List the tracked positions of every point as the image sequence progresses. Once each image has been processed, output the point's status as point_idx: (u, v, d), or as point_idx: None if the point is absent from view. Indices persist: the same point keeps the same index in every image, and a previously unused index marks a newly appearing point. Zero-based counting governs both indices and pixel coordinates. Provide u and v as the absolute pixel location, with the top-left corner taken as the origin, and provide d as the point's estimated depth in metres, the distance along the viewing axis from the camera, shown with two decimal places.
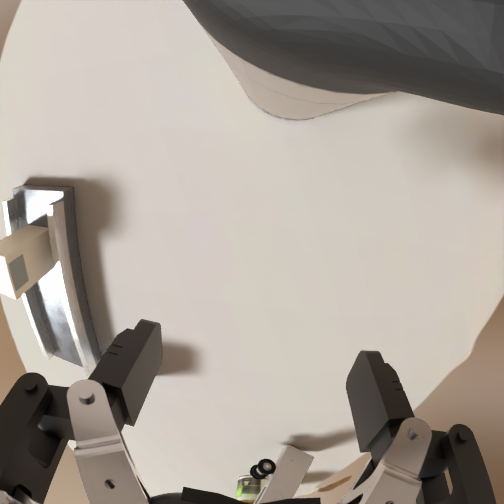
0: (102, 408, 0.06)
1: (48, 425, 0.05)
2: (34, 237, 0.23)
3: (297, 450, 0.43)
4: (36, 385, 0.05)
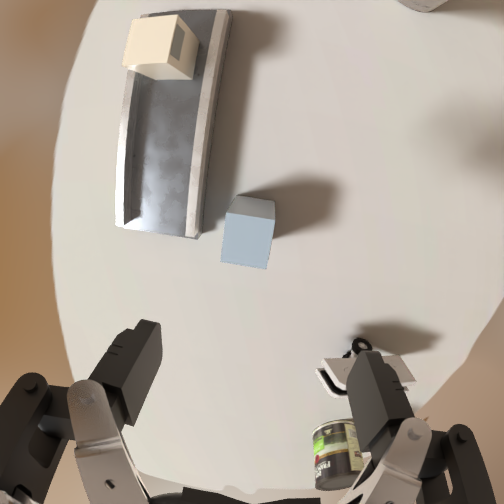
0: (102, 408, 0.06)
1: (48, 425, 0.05)
2: (192, 32, 0.21)
3: (403, 364, 0.36)
4: (36, 385, 0.05)
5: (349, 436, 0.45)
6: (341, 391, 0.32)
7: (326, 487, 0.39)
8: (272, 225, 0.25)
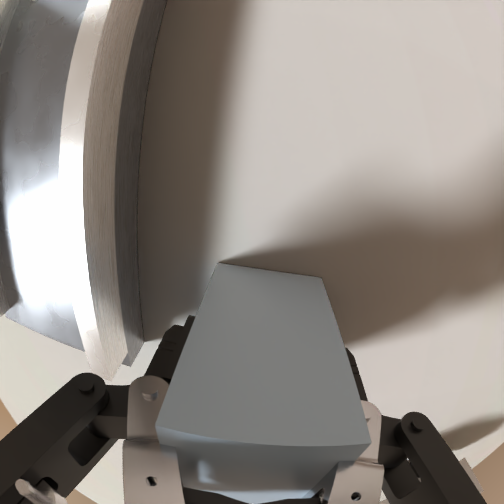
0: None
1: (97, 427, 0.06)
2: None
3: (470, 470, 0.15)
4: (93, 386, 0.06)
5: None
6: None
7: None
8: (355, 454, 0.05)
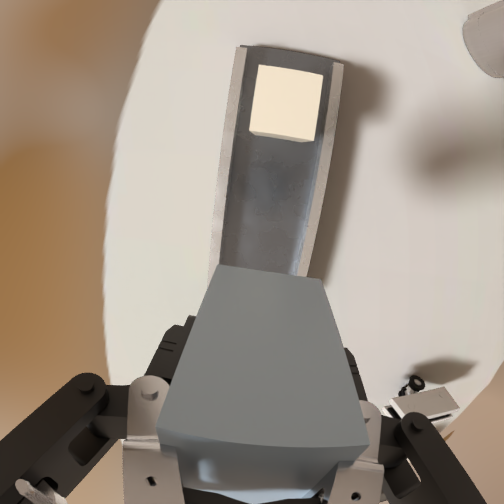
0: None
1: (97, 427, 0.06)
2: None
3: (448, 394, 0.35)
4: (93, 386, 0.06)
5: None
6: None
7: None
8: (353, 455, 0.05)
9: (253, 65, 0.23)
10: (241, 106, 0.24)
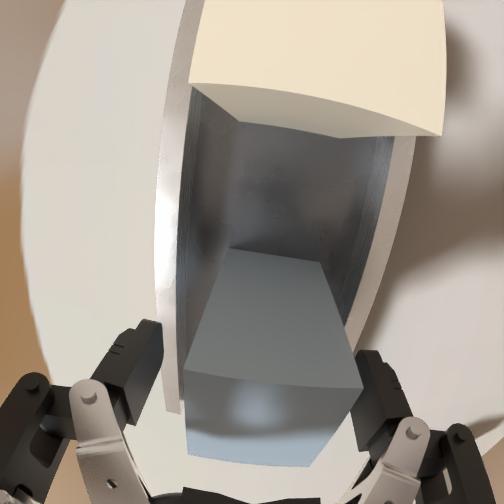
0: (104, 408, 0.06)
1: (50, 425, 0.05)
2: None
3: None
4: (38, 385, 0.05)
5: None
6: None
7: None
8: (350, 401, 0.06)
9: None
10: None
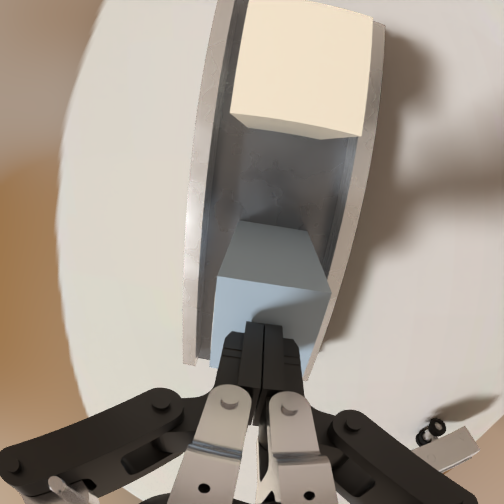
0: (240, 418, 0.06)
1: (160, 443, 0.06)
2: None
3: (469, 434, 0.26)
4: (169, 402, 0.06)
5: None
6: None
7: None
8: (324, 303, 0.11)
9: None
10: (226, 83, 0.15)
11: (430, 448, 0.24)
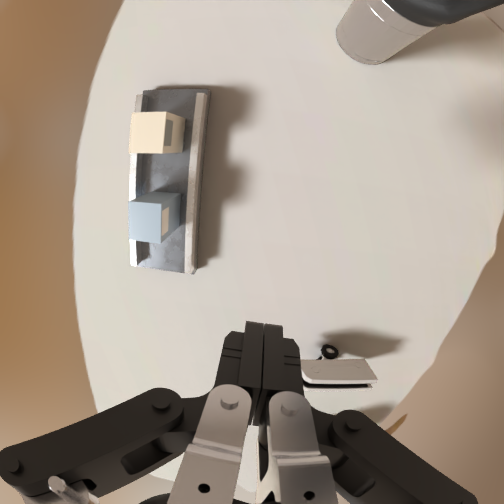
0: (240, 418, 0.06)
1: (160, 443, 0.06)
2: (179, 116, 0.32)
3: (367, 365, 0.46)
4: (169, 402, 0.06)
5: None
6: (309, 385, 0.41)
7: None
8: (159, 208, 0.32)
9: (151, 104, 0.34)
10: None
11: (316, 363, 0.44)
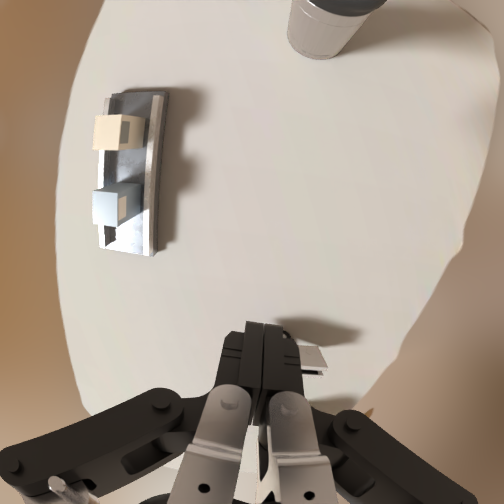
0: (240, 418, 0.06)
1: (160, 443, 0.06)
2: None
3: (319, 353, 0.50)
4: (169, 402, 0.06)
5: None
6: None
7: None
8: (116, 196, 0.35)
9: (118, 105, 0.37)
10: None
11: None
